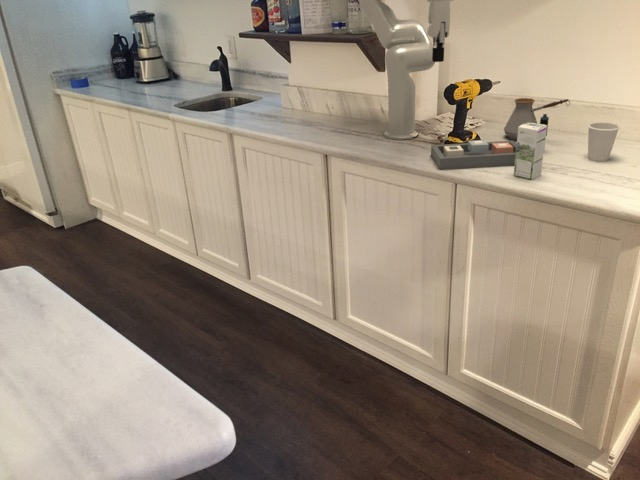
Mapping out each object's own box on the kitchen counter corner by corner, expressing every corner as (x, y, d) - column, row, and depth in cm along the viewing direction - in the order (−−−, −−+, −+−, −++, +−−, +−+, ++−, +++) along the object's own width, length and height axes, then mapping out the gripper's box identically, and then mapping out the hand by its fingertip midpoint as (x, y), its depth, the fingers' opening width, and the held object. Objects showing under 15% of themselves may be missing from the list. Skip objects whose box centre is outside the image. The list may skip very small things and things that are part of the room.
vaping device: (543, 153, 169) (548, 115, 164) (526, 151, 172) (530, 114, 167) (545, 151, 171) (550, 113, 166) (529, 149, 174) (533, 112, 169)
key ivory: (443, 153, 169) (443, 145, 168) (459, 152, 169) (459, 144, 168) (446, 158, 165) (447, 150, 164) (463, 157, 165) (463, 149, 164)
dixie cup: (604, 164, 157) (610, 131, 153) (577, 158, 163) (582, 126, 159) (619, 158, 161) (625, 125, 157) (592, 152, 167) (597, 120, 163)
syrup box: (541, 174, 153) (548, 124, 146) (531, 180, 149) (537, 129, 143) (523, 170, 157) (528, 121, 150) (512, 176, 153) (517, 125, 147)
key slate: (467, 148, 169) (468, 140, 167) (483, 147, 168) (484, 139, 167) (471, 153, 164) (472, 144, 163) (488, 152, 164) (488, 143, 163)
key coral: (491, 150, 169) (492, 143, 168) (507, 149, 169) (508, 142, 168) (496, 155, 164) (496, 147, 163) (512, 154, 164) (513, 146, 163)
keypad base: (431, 155, 174) (431, 145, 173) (511, 151, 174) (512, 140, 172) (439, 169, 162) (440, 158, 160) (526, 164, 161) (528, 153, 160)
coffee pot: (496, 138, 187) (500, 94, 181) (515, 131, 194) (520, 88, 187) (553, 150, 172) (559, 102, 165) (572, 142, 178) (579, 96, 171)
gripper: (423, -5, 164) (421, 58, 172) (432, -2, 150) (430, 66, 159) (448, -7, 163) (445, 57, 172) (459, -4, 150) (455, 64, 158)
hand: (437, 61), depth 165 cm, fingers closed
